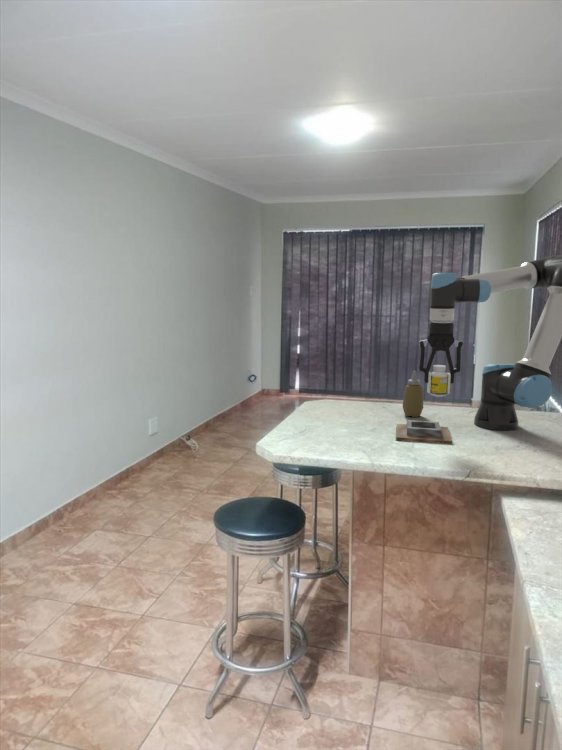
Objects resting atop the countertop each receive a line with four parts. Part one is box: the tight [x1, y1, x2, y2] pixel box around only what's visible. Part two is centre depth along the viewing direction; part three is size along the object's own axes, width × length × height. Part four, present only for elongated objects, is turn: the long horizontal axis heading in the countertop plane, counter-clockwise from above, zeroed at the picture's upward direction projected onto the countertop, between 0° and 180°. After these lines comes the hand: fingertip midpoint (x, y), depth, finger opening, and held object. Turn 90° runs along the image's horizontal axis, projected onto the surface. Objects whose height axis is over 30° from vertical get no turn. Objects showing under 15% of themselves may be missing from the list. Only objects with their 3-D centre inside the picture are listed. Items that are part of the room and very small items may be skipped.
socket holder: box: [395, 419, 453, 445], centre depth 185 cm, size 18×18×4 cm
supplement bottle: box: [429, 364, 448, 398], centre depth 174 cm, size 5×5×10 cm
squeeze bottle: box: [402, 370, 424, 418], centre depth 210 cm, size 8×8×18 cm
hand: (438, 392), depth 175 cm, fingers closed on supplement bottle, 5 cm apart
